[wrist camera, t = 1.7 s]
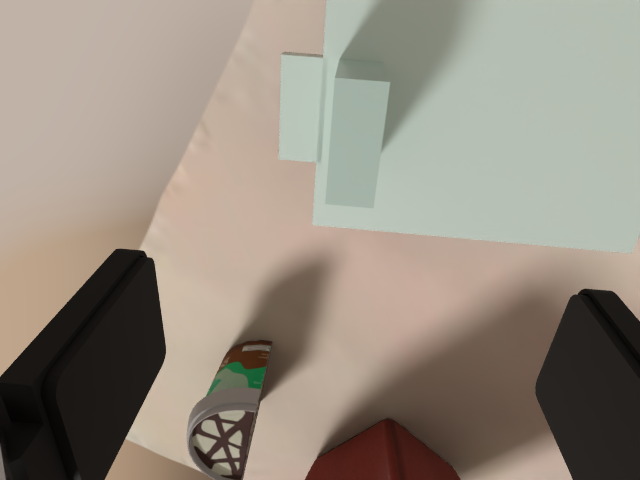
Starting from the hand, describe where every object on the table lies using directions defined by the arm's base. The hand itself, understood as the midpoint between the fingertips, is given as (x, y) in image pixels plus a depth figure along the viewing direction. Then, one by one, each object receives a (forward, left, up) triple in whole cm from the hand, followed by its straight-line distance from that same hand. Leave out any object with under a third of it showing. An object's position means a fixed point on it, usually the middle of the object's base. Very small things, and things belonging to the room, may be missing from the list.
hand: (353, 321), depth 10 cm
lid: (-7, 0, -21) cm, 22 cm away
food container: (+10, +31, -29) cm, 43 cm away
